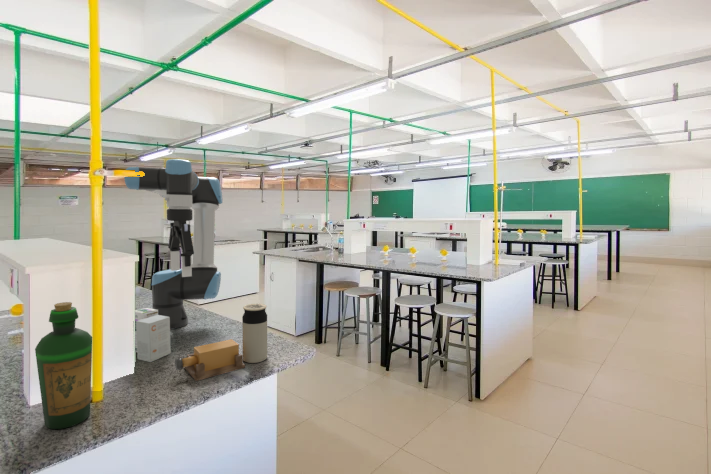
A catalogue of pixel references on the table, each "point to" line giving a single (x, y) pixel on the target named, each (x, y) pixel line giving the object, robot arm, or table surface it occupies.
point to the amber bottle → (211, 355)
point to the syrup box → (143, 314)
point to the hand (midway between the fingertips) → (180, 273)
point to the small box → (153, 337)
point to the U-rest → (201, 374)
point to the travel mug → (254, 333)
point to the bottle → (64, 369)
